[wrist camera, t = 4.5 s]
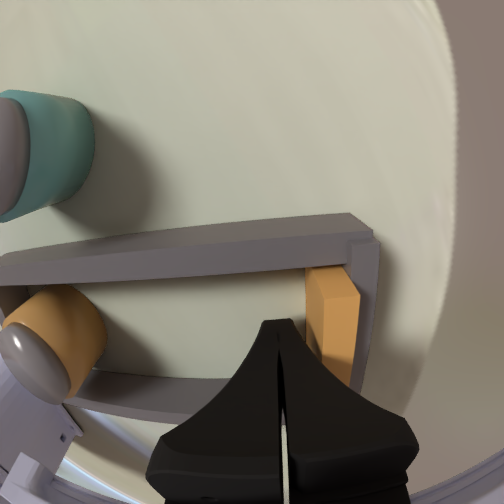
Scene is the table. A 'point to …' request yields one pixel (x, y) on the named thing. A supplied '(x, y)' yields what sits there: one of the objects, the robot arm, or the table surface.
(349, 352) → the plate
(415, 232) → the table surface
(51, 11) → the table surface
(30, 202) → the teal jar
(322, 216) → the grey rectangular tray
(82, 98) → the table surface
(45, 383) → the amber jar
